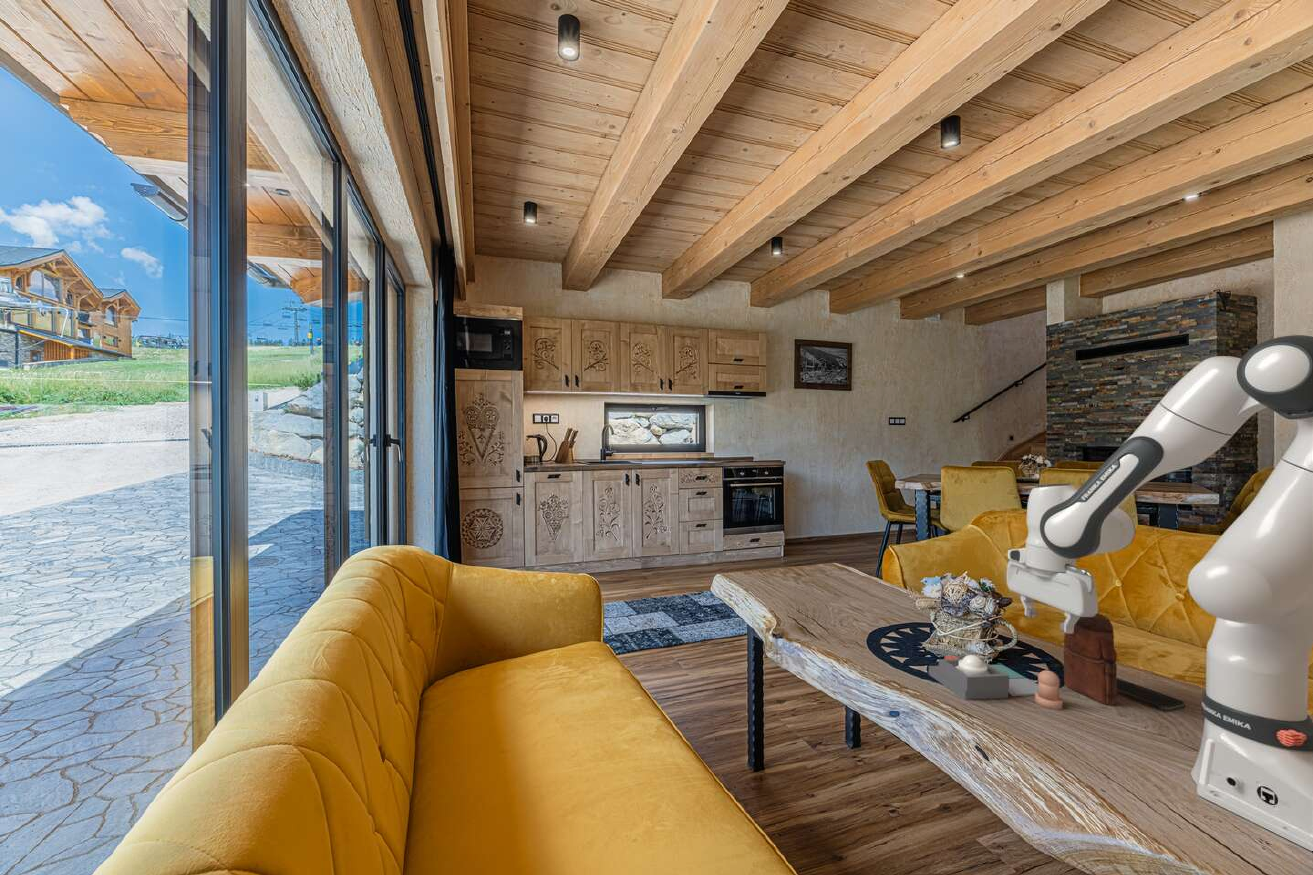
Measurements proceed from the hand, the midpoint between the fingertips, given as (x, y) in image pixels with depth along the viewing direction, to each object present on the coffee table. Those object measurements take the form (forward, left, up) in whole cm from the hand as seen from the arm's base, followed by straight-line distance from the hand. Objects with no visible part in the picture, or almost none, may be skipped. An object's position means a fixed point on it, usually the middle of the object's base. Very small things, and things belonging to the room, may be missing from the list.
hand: (1048, 624), depth 119 cm
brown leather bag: (+4, -14, -17) cm, 22 cm away
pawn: (0, 0, -17) cm, 17 cm away
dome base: (+10, +11, -17) cm, 22 cm away
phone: (+3, -24, -17) cm, 30 cm away
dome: (+8, +11, -15) cm, 20 cm away
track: (+12, 0, -17) cm, 21 cm away
